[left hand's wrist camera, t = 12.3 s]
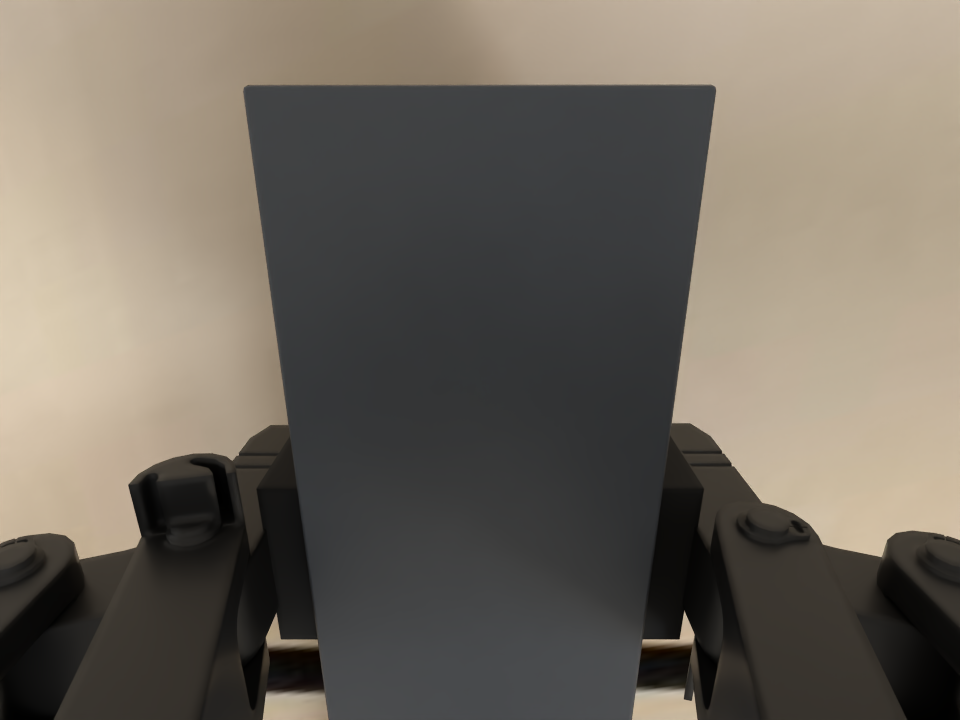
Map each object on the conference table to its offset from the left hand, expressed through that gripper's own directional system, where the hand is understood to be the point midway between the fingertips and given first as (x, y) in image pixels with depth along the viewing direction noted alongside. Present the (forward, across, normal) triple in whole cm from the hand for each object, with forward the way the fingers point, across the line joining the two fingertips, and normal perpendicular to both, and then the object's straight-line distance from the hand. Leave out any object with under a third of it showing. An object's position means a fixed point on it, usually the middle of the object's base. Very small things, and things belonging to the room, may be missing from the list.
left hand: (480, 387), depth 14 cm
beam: (+1, 0, -20) cm, 20 cm away
